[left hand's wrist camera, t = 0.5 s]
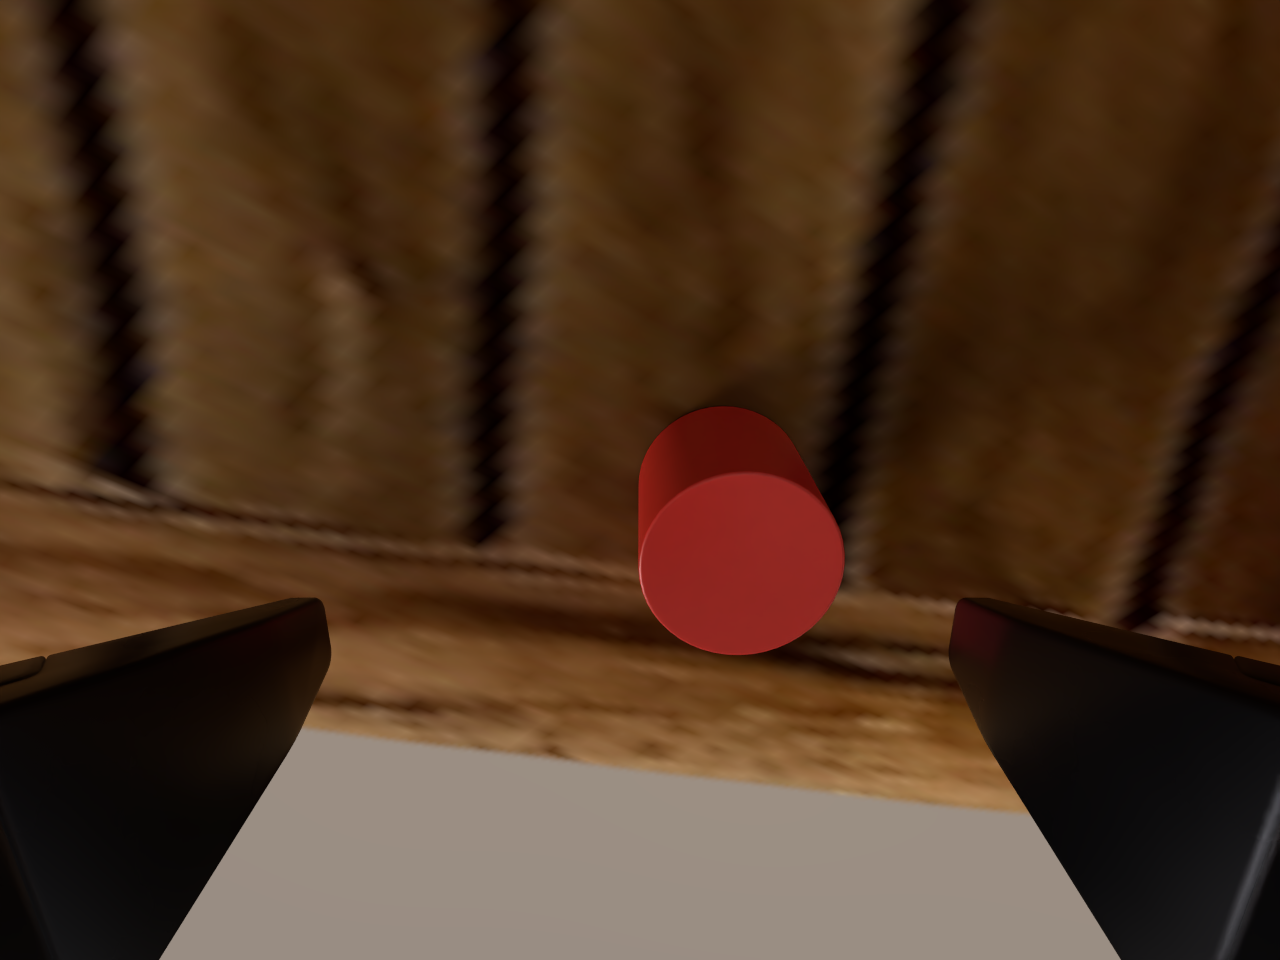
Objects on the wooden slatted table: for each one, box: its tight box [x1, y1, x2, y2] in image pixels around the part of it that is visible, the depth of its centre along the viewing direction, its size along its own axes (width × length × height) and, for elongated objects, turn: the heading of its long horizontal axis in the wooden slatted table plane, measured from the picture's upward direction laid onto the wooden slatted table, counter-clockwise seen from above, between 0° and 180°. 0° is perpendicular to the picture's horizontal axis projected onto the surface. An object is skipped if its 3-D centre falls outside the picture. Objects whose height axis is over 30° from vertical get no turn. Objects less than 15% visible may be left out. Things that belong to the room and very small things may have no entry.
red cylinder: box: [638, 406, 845, 655], centre depth 18 cm, size 4×4×4 cm
